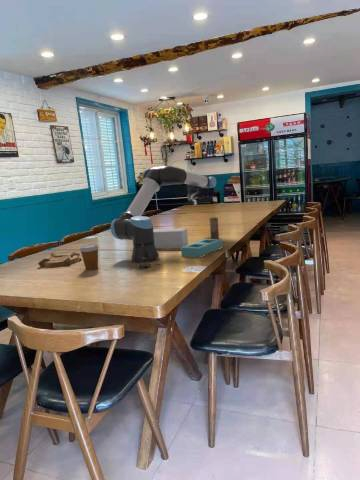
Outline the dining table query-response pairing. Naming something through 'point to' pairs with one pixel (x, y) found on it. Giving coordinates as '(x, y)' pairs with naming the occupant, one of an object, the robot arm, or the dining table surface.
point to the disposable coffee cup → (90, 256)
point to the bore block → (201, 247)
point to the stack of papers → (170, 238)
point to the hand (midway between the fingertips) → (206, 201)
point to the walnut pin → (214, 228)
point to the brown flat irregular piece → (59, 260)
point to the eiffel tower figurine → (144, 261)
